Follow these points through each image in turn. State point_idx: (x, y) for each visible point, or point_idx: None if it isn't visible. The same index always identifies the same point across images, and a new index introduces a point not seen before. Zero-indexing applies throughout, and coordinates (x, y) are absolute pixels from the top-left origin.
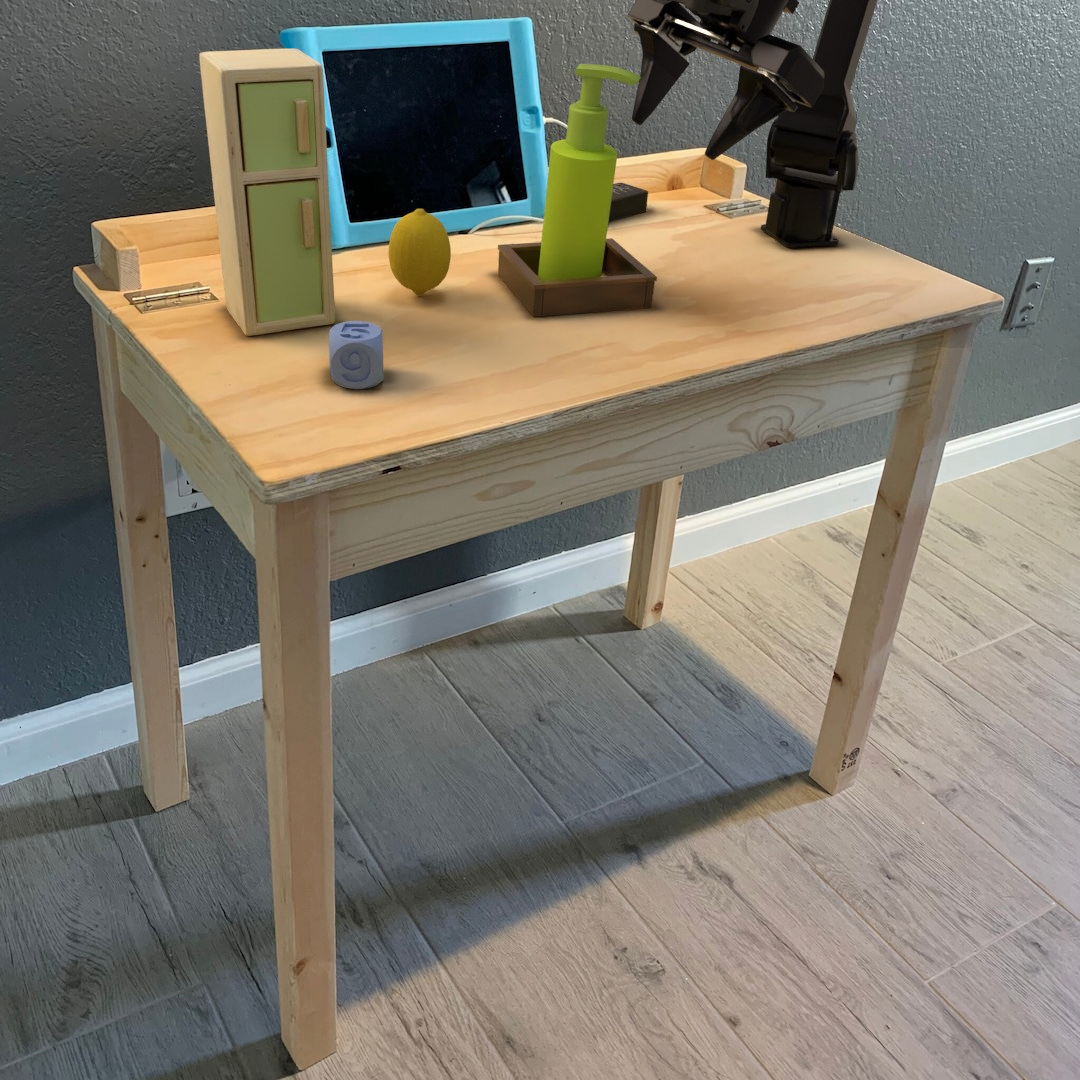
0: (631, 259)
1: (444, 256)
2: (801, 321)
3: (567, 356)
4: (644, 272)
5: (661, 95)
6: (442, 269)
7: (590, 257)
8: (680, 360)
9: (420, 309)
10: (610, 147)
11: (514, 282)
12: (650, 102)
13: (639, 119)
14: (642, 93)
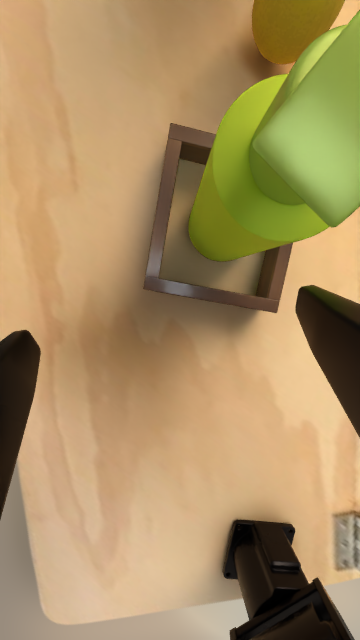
0: (205, 293)
1: (263, 14)
2: (61, 413)
3: (61, 120)
4: (161, 282)
5: (347, 401)
6: (256, 26)
7: (192, 216)
8: (12, 232)
9: (236, 30)
10: (274, 226)
11: None
12: (329, 348)
13: (301, 305)
14: (355, 319)
